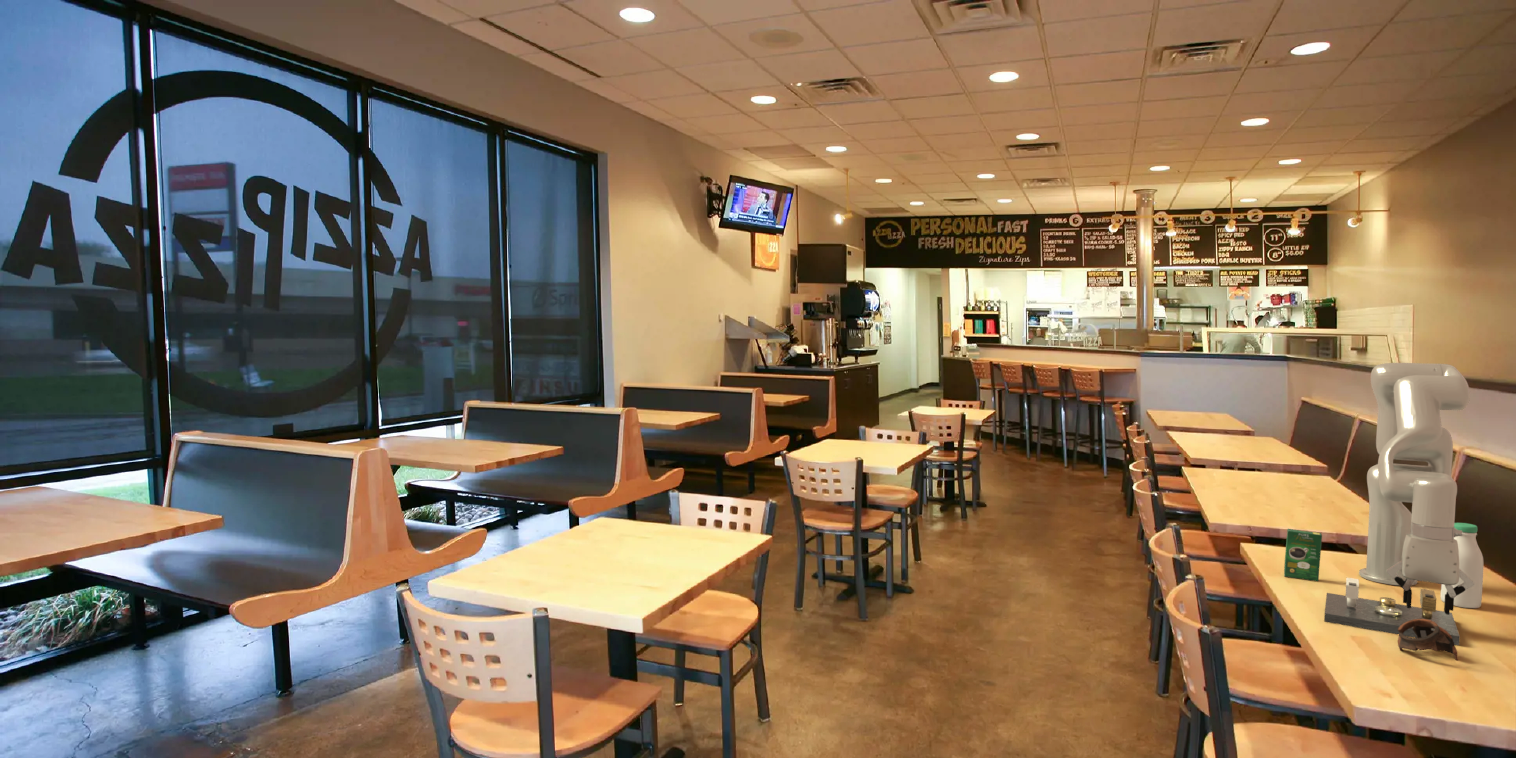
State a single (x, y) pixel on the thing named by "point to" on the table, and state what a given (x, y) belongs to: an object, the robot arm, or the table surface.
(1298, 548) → the coffee box
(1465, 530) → the milk bottle
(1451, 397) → the robot arm
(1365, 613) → the levelling plate
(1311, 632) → the table surface
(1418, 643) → the brown curved hollow piece
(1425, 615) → the wooden bar knob
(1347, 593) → the white t-shaped handle
